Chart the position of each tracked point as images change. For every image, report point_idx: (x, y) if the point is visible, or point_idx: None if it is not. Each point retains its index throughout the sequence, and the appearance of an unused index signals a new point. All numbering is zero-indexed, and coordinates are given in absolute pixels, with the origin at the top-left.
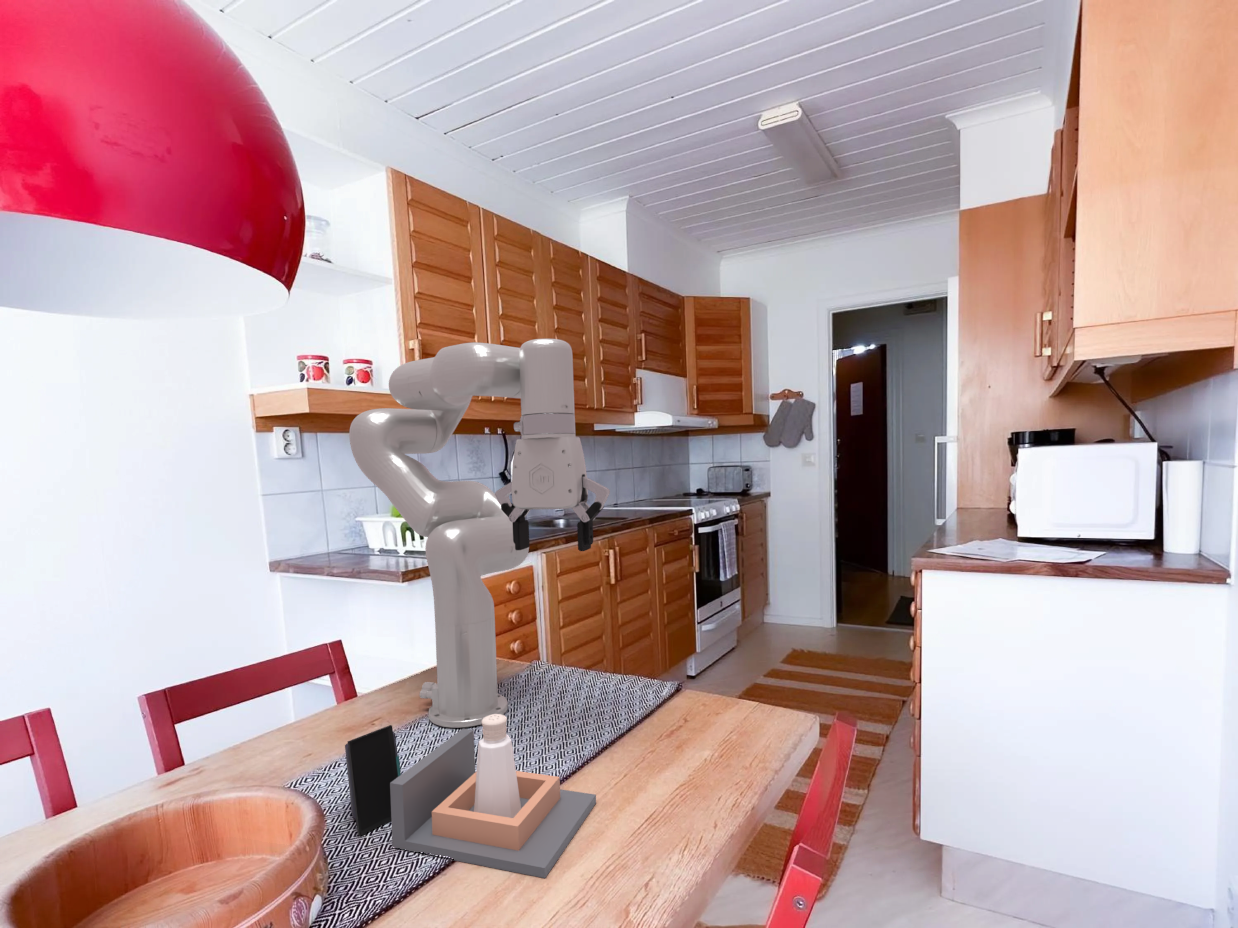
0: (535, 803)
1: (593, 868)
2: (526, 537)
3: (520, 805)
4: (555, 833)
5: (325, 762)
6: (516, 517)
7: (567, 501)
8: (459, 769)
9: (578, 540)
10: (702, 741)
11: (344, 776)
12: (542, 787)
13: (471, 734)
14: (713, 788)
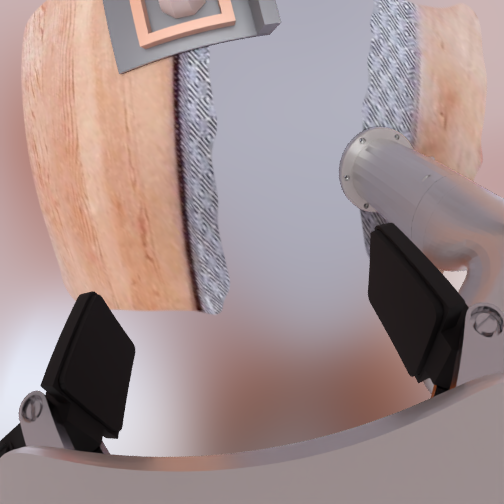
0: (131, 3)
1: (78, 15)
2: (386, 309)
3: (161, 9)
4: (116, 12)
5: (421, 34)
6: (469, 334)
7: (13, 481)
8: (253, 4)
9: (83, 321)
10: (108, 226)
11: (386, 15)
12: (143, 23)
13: (262, 20)
14: (56, 158)
